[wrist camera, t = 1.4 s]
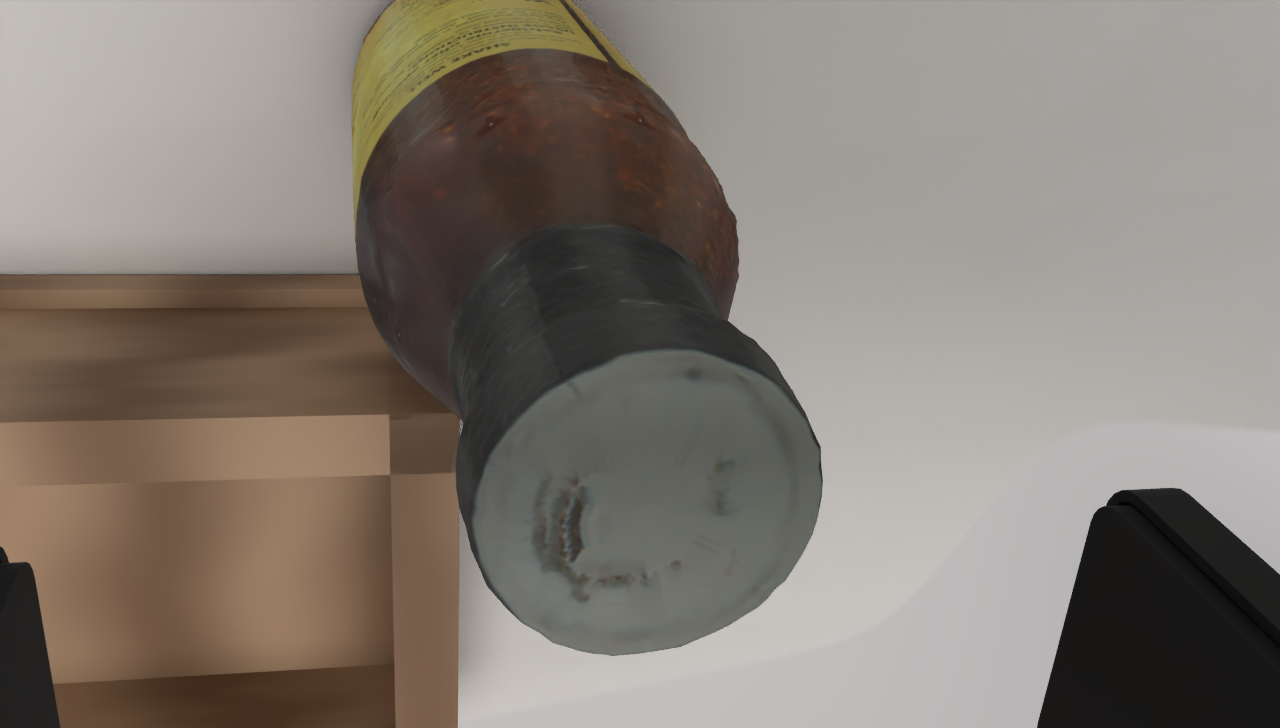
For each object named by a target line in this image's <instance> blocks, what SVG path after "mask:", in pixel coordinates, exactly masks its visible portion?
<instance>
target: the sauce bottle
mask: <svg viewBox="0 0 1280 728" xmlns="http://www.w3.org/2000/svg"><path fill="white" fill-rule="evenodd" d="M352 139H353V188H354V218H355V242H356V252H357V263H358V271H359V276H360V280H361V285H362V289H363V294H364V298H365V300H366V303H367V306H368V308H369V311H370V314H371V316H372V319H373V322H374V324H375V326H376V328H377V330H378V331H379V333H380V335H381V337H382V339H383V340H384V342H385V344H386V346H387V347H388V349H389V350H390V351H391V353H392V354H393V356H394V357H395V358H396V360H397V361H398V362H399V363H400V364H401V365H402V366H403V368H404V369H405V370H406V371H407V372H408V373H409V374H410V375H411V376H412V377H413V378H414V379H415V380H416V381H417V382H419V383H420V384H421V385H422V386H423V387H424V388H425V389H426V390H428V391H429V392H430V393H432V394H433V395H434V396H435V397H436V398H437V399H438V400H439V401H441V402H442V403H443V404H444V405H445V406H446V407H447V408H448V409H450V410H451V411H452V412H453V413H454V414H455V415H456V416H457V417H459V418H460V419H461V420H462V421H463V429H462V433H461V435H460V438H459V442H458V447H457V453H456V462H455V468H456V490H457V496H458V502H459V507H460V510H461V514H462V517H463V520H464V522H465V525H466V529H467V533H468V538H469V542H470V547H471V550H472V552H473V554H474V557H475V559H476V561H477V563H478V566H479V568H480V570H481V572H482V575H483V577H484V580H485V582H486V584H487V586H488V588H489V589H490V590H491V591H492V592H493V593H494V595H495V596H496V597H497V598H498V599H499V600H500V601H501V602H502V604H503V605H504V606H505V607H506V608H507V609H508V610H509V611H510V612H511V613H512V614H513V615H514V616H515V617H516V618H517V619H519V620H520V621H521V622H522V623H523V624H525V625H527V626H529V627H530V628H532V629H534V630H536V631H537V632H539V633H541V634H542V635H543V636H545V637H546V638H547V639H549V640H550V641H551V642H553V643H556V644H559V645H562V646H566V647H569V648H572V649H575V650H579V651H583V652H588V653H593V654H605V655H611V656H617V655H628V654H639V653H646V652H652V651H658V650H664V649H670V648H676V647H681V646H683V645H686V644H688V643H690V642H692V641H695V640H697V639H699V638H702V637H704V636H706V635H709V634H711V633H713V632H716V631H718V630H720V629H722V628H724V627H726V626H728V625H730V624H732V623H733V622H735V621H736V620H738V619H739V618H741V617H743V616H744V615H746V614H747V613H749V612H751V611H753V610H754V609H756V608H757V607H759V606H760V605H761V604H762V603H763V602H764V601H765V600H766V599H767V598H768V597H769V596H770V595H771V593H772V592H773V591H774V590H775V589H776V588H777V587H778V586H779V585H781V584H782V583H783V582H784V581H785V580H786V579H787V577H788V576H789V574H790V573H791V571H792V569H793V568H794V566H795V565H796V563H797V562H798V560H799V558H800V557H801V555H802V554H803V552H804V550H805V548H806V546H807V544H808V542H809V540H810V538H811V536H812V534H813V530H814V527H815V524H816V521H817V517H818V512H819V507H820V502H821V497H822V483H823V479H822V469H821V447H820V445H819V443H818V441H817V439H816V437H815V434H814V432H813V430H812V428H811V425H810V423H809V421H808V418H807V416H806V413H805V412H804V410H803V408H802V407H801V405H800V403H799V402H798V400H797V399H796V397H795V395H794V393H793V391H792V389H791V388H790V386H789V385H788V383H787V382H786V380H785V379H784V377H783V376H782V374H781V372H780V370H779V369H778V367H777V365H776V363H775V362H774V361H773V360H772V358H771V357H770V356H769V355H768V354H767V353H766V352H765V351H764V350H763V349H762V348H761V347H760V346H759V345H758V343H757V342H756V341H755V340H753V339H752V338H750V337H748V336H747V335H745V334H743V333H742V332H741V331H740V330H738V329H737V328H736V327H735V326H733V325H732V324H731V323H730V322H728V317H729V313H730V309H731V305H732V301H733V297H734V293H735V289H736V283H737V281H738V278H739V274H738V266H739V257H738V237H737V230H736V223H737V220H736V217H735V215H734V214H733V212H732V211H731V210H730V208H729V206H728V204H727V202H726V199H725V196H724V193H723V189H722V186H721V185H720V184H719V180H718V178H717V177H716V175H715V174H714V172H713V171H712V169H711V168H710V166H709V165H708V163H707V162H706V160H705V158H704V157H703V156H702V155H701V153H700V151H699V150H698V148H697V147H696V146H695V145H694V144H693V143H692V142H691V141H690V140H689V138H688V136H687V134H686V132H685V130H684V129H683V127H682V125H681V124H680V122H679V120H678V119H677V117H676V115H675V114H674V113H673V111H672V110H671V109H670V108H669V107H668V106H667V104H666V103H665V102H664V101H663V100H662V98H661V97H660V96H659V95H658V94H657V93H656V92H655V91H654V90H653V89H652V87H651V86H650V85H649V84H648V83H647V82H646V81H645V80H644V79H643V77H642V76H641V75H640V74H639V73H638V72H637V71H636V70H635V68H634V67H633V66H632V65H631V64H630V63H629V62H628V61H627V60H626V59H625V58H624V56H623V55H622V54H621V53H620V52H619V51H618V50H617V49H616V48H615V47H614V46H613V45H612V44H611V42H610V41H609V40H608V39H607V38H606V37H605V36H604V35H603V34H602V33H601V32H600V31H599V29H598V28H597V27H596V26H595V25H594V24H593V23H592V22H591V21H590V19H589V18H588V17H587V16H586V15H585V14H584V13H583V12H582V11H581V10H580V8H579V7H578V6H577V5H576V4H575V3H574V2H573V1H572V0H394V1H392V2H391V3H390V4H389V6H388V7H387V8H386V9H385V10H384V11H383V13H382V14H381V15H380V16H379V17H378V18H377V20H376V21H375V23H374V25H373V26H372V28H371V29H370V30H369V32H368V34H367V35H366V37H365V39H364V42H363V46H362V48H361V51H360V54H359V57H358V60H357V63H356V67H355V71H354V77H353V83H352Z"/></svg>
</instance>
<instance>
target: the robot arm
mask: <svg viewBox="0 0 1280 728" xmlns="http://www.w3.org/2000/svg"><path fill="white" fill-rule="evenodd" d="M0 728H60V722H59V716H58V710H57V705H56V699H55V693H54V687H53V681H52V675H51V669H50V663H49V657H48V652H47V646H46V640H45V634H44V628H43V622H42V616H41V610H40V604H39V599H38V593H37V587H36V581H35V576H34V572H33V569H32V567H31V565H30V564H29V563H28V562H14V563H9V561H8V557H7V555H6V553H5V551H4V549H3V548H2V547H0ZM1037 728H1280V575H1279V574H1278V573H1277V572H1276V571H1275V570H1274V569H1273V568H1272V567H1270V566H1269V565H1268V564H1267V563H1266V562H1265V561H1264V560H1263V559H1261V558H1260V557H1259V556H1258V555H1257V554H1256V553H1255V552H1254V551H1252V550H1251V549H1250V548H1249V547H1248V546H1247V545H1246V544H1244V543H1243V542H1242V541H1241V540H1240V539H1239V538H1238V537H1237V536H1236V535H1234V534H1233V533H1232V532H1231V531H1230V530H1229V529H1228V528H1226V527H1225V526H1224V525H1223V524H1222V523H1221V522H1220V521H1218V520H1217V519H1216V518H1215V517H1214V516H1213V515H1212V514H1211V513H1209V512H1208V511H1207V510H1206V509H1205V508H1204V507H1203V506H1201V505H1200V504H1199V503H1198V502H1197V501H1196V500H1195V499H1194V498H1193V497H1191V496H1190V495H1189V494H1188V493H1186V492H1184V491H1183V490H1181V489H1176V488H1160V489H1140V490H1122V491H1120V492H1117V493H1115V494H1114V495H1113V496H1112V497H1111V498H1110V500H1109V501H1108V503H1107V505H1106V506H1104V507H1102V508H1099V509H1098V510H1097V511H1096V512H1095V514H1094V515H1093V518H1092V521H1091V523H1090V527H1089V531H1088V535H1087V538H1086V543H1085V546H1084V550H1083V554H1082V557H1081V562H1080V565H1079V569H1078V573H1077V577H1076V580H1075V584H1074V588H1073V592H1072V596H1071V599H1070V603H1069V607H1068V611H1067V614H1066V618H1065V622H1064V626H1063V630H1062V634H1061V637H1060V641H1059V645H1058V649H1057V653H1056V656H1055V660H1054V664H1053V668H1052V672H1051V675H1050V679H1049V683H1048V687H1047V691H1046V694H1045V698H1044V702H1043V706H1042V710H1041V713H1040V717H1039V721H1038V726H1037Z"/></svg>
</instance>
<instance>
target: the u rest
mask: <svg viewBox="0 0 1280 728" xmlns="http://www.w3.org/2000/svg"><path fill="white" fill-rule="evenodd" d="M458 442H459V417H457V416H456V415H455V414H454V413H453V412H452V411H451V410H450V409H448V408H447V407H446V406H445V405H444V404H443V403H442V402H441V401H439V400H438V399H437V398H436V397H435V396H434V395H433V394H432V393H430V392H429V391H428V390H426V389H425V388H424V387H423V386H422V385H421V384H420V383H419V382H417V381H416V380H415V379H414V378H413V377H412V376H411V375H410V374H409V373H408V372H407V371H406V370H405V369H404V368H403V366H402V365H401V364H400V363H399V362H398V361H397V360H396V358H395V357H394V356H393V354H392V353H391V351H390V350H389V349H388V347H387V346H386V344H385V342H384V340H383V339H382V337H381V335H380V333H379V331H378V330H377V328H376V326H375V324H374V322H373V319H372V316H371V314H370V311H369V308H368V306H367V303H366V300H365V298H364V294H363V289H362V285H361V280H360V276H359V275H0V547H2V548H3V549H4V551H5V553H6V555H7V557H8V561H9V563H14V562H28V563H29V564H30V565H31V567H32V569H33V572H34V576H35V581H36V587H37V593H38V599H39V604H40V610H41V616H42V622H43V628H44V634H45V640H46V646H47V652H48V657H49V663H50V669H51V675H52V681H53V687H54V693H55V699H56V705H57V710H58V716H59V722H60V728H458V581H459V502H458V496H457V490H456V468H455V462H456V453H457V447H458Z"/></svg>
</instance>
